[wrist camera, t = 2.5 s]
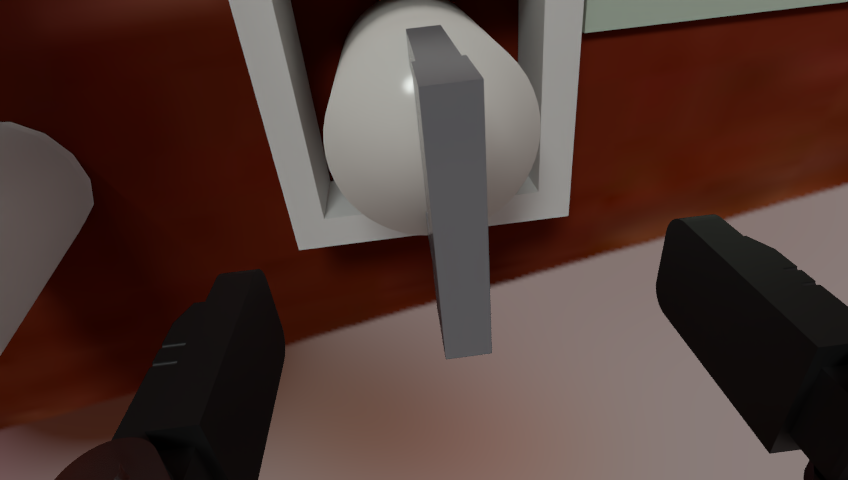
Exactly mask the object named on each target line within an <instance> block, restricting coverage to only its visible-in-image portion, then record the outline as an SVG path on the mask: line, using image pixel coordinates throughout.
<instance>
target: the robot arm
mask: <svg viewBox="0 0 848 480" xmlns="http://www.w3.org/2000/svg"><path fill="white" fill-rule="evenodd" d="M656 294H657V298H658V302H659V305H660V307H661V309H662V312H663V313H664V314H665V316H666V317H667V318H668V320H669V321H670V322H671V324H672V325H673V326H674V328H675V329H676V330H677V332H678V333H679V334H680V336H681V337H682V338H683V340H684V341H685V342H686V343H687V345H688V346H689V348H690V349H691V350H692V351H693V353H694V354H695V355H696V357H697V358H698V359H699V361H700V362H701V363H702V365H703V366H704V367H705V369H706V370H707V371H708V372H709V374H710V375H711V377H712V378H713V379H714V380H715V382H716V383H717V385H718V386H719V387H720V388H721V390H722V391H723V392H724V394H725V395H726V396H727V398H728V399H729V400H730V402H731V403H732V404H733V406H734V407H735V408H736V410H737V411H738V412H739V413H740V415H741V416H742V417H743V419H744V420H745V421H746V423H747V424H748V426H749V427H750V428H751V429H752V431H753V432H754V433H755V434H756V436H757V437H758V439H759V440H760V441H761V443H762V444H763V445H764V447H765V448H766V449H767V451H768V452H769V453H777V452H785V451H792V450H799V449H801V450H802V451H803V452H804V454H805V455H806V456H807V457H808V458H809V462H808V464H807V466H806V468H805V470H804V480H848V306H846V305H845V304H844V303H842V302H841V301H840V300H839V299H838V298H836V297H835V296H834V295H833V294H831V293H830V292H829V291H827V290H826V289H825V288H824V287H822V286H821V285H816V284H815V280H813V279H812V278H811V277H810V276H808V275H807V274H806V273H805V272H803V271H802V270H797V266H796V265H795V264H793V263H792V262H791V261H789V260H788V259H787V258H786V257H784V256H783V255H782V254H781V253H779V252H778V251H777V250H775V249H774V248H771V247H769V246H767V245H765V244H763V243H760V242H758V241H756V240H754V239H752V238H750V237H747V236H743V235H742V234H740V233H739V232H738V231H737V230H735V229H734V228H733V227H732V226H731V225H729V224H728V223H727V222H726V221H725V220H723V219H722V218H721V217H719V216H717V215H713V214H712V215H704V216H696V217H688V218H679V219H674V220H672V221H671V222H670V224H669V225H668V228H667V231H666V236H665V241H664V246H663V251H662V256H661V262H660V266H659V271H658V277H657V282H656ZM284 357H285V339H284V333H283V328H282V325H281V322H280V319H279V316H278V313H277V310H276V307H275V304H274V301H273V298H272V295H271V292H270V289H269V286H268V283H267V280H266V277H265V275H264V273H263V272H262V271H261V270H260V269H256V270H248V271H239V272H231V273H223V274H220V275H218V276H217V278H216V280H215V282H214V284H213V287H212V289H211V291H210V293H209V295H208V297H207V299H206V301H205V302H199V303H194V304H193V305H192V306H191V307H189V308H188V309H187V310H186V311H185V312H184V313H183V314H182V315H181V316H180V317H179V318H178V319H177V320H176V321H175V322H174V323H173V324H172V326H171V328H170V330H169V332H168V334H167V336H166V338H165V340H164V342H163V343H162V349H159V351H158V353H157V355H156V357H155V359H154V361H153V362H152V364H153V367H151V368H149V370H148V372H147V374H146V376H145V378H144V380H143V381H142V383H141V385H140V387H139V389H138V391H137V393H136V395H135V397H134V399H133V401H132V403H131V404H130V406H129V408H128V410H127V412H126V414H125V416H124V418H123V419H122V421H121V423H120V425H119V427H118V429H117V431H116V433H115V435H114V437H113V438H112V440H111V441H109V442H106V443H103V444H101V445H99V446H97V447H95V448H93V449H91V450H89V451H88V452H86V453H84V454H83V455H81V456H80V457H78V458H77V459H76V460H74V461H73V462H72V463H71V464H69V465H68V466H67V467H66V468H65V469H64V470H63V471H62V472H61V473H60V474H59V475H58V476H57V477H56V479H55V480H258V477H259V473H260V468H261V464H262V459H263V455H264V450H265V445H266V441H267V436H268V432H269V427H270V423H271V418H272V414H273V409H274V404H275V400H276V395H277V390H278V386H279V382H280V377H281V373H282V368H283V363H284Z"/></svg>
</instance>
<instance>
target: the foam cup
mask: <svg viewBox="0 0 848 480" xmlns="http://www.w3.org/2000/svg"><path fill="white" fill-rule="evenodd" d="M93 205H94V201H93V194H92V187H91V180H90V178H89V177H88V175H87V174H86V172H85V171H84V170H83V168H82V167H81V165H80V164H79V162H78V161H77V159H76V158H75V156H74V155H73V154H72V153H71V152H69V151H68V150H67V149H65V148H64V147H63V146H61V145H60V144H58V143H57V142H56V141H54V140H53V139H52V138H50V137H49V136H48V135H46V134H45V133H42V132H39V131H36V130H33V129H30V128H27V127H24V126H21V125H19V124H16V123H13V122H0V355H1V354H2V352H3V351H4V349H5V347H6V346H7V344H8V343H9V341H10V340H11V338H12V336H13V335H14V333H15V332H16V330H17V329H18V327H19V325H20V324H21V322H22V321H23V319H24V318H25V316H26V314H27V313H28V311H29V310H30V308H31V307H32V305H33V304H34V302H35V300H36V299H37V297H38V296H39V294H40V293H41V291H42V289H43V288H44V286H45V285H46V283H47V282H48V280H49V278H50V277H51V275H52V274H53V272H54V271H55V269H56V268H57V266H58V264H59V263H60V261H61V260H62V258H63V257H64V255H65V253H66V252H67V250H68V249H69V247H70V246H71V244H72V242H73V241H74V239H75V238H76V236H77V235H78V233H79V231H80V230H81V228H82V226H83V224H84V223H85V221H86V219H87V217H88V215H89V213H90V211H91V209H92V207H93Z"/></svg>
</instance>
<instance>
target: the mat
mask: <svg viewBox="0 0 848 480" xmlns="http://www.w3.org/2000/svg"><path fill="white" fill-rule="evenodd" d="M841 2H848V0H584V8H583V22H582V32H583V33H590V32H599V31H607V30H615V29H624V28H632V27H641V26H649V25H657V24H666V23H674V22H682V21H691V20H699V19H707V18H716V17H724V16H732V15H741V14H749V13H757V12H766V11H774V10H783V9H791V8H799V7H808V6H816V5H824V4H833V3H841Z"/></svg>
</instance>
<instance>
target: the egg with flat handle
mask: <svg viewBox="0 0 848 480" xmlns="http://www.w3.org/2000/svg"><path fill="white" fill-rule="evenodd" d="M540 132H541V124H540V112H539V106H538V101H537V98H536V95H535V92H534V89H533V87H532V85H531V83H530V81H529V79H528V77H527V75H526V74H525V73H524V71H523V70H522V68H521V67H520V65H519V64H518V63H517V62H516V61H515V60H514V59H513V58H512V56H511V55H510V54H509V53H508V52H506V51H505V50H504V49H503V48H502V47H501V46H500V45H499V44H498V43H497V42H496V41H495V40H494V39H492V38H491V37H490V36H489V35H488V34H487V33H486V32H485V31H484V30H483V29H482V28H481V27H480V26H478V25H477V24H476V23H475V22H474V21H473V20H472V19H471V18H470V17H469V16H468V15H467V14H466V13H464V12H463V11H462V10H461V9H460V8H459V7H457V6H456V5H455V4H453V3H451V2H450V1H448V0H380V1H378V2H376V3H375V4H373V5H372V6H371V7H369V8H368V9H367V10H366V11H365V12H364V13H363V14H361V15H360V17H359V18H358V19H357V20H356V22H355V23H354V24H353V26H352V28H351V29H350V31H349V33H348V35H347V37H346V39H345V42H344V45H343V49H342V52H341V56H340V60H339V64H338V68H337V72H336V75H335V79H334V83H333V87H332V91H331V95H330V98H329V102H328V106H327V110H326V114H325V120H324V128H323V143H324V150H325V157H326V160H327V163H328V167H329V170H330V172H331V174H332V177H333V179H334V181H335V183H336V184H337V186H338V188H339V189H340V191H341V192H342V194H343V195H344V196H345V197H346V199H347V200H348V201H349V202H350V203H351V204H352V205H353V206H354V207H355V208H356V209H357V210H358V211H359V212H361V213H362V214H363V215H365V216H366V217H368V218H369V219H371V220H372V221H374V222H376V223H378V224H380V225H382V226H384V227H387V228H389V229H392V230H395V231H399V232H402V233H408V234H414V235H428V239H429V244H430V250H431V256H432V263H433V272H434V282H435V291H436V300H437V309H438V315H439V321H440V327H441V333H442V339H443V345H444V351H445V357H446V359H452V358H459V357H467V356H474V355H482V354H490V353H492V342H491V311H490V274H489V240H488V218H489V217H490V216H492V215H493V214H495V213H496V212H497V211H499V210H500V209H501V208H502V207H503V206H505V205H506V204H507V203H508V202H509V201H510V200H511V199H512V198H513V196H514V195H515V194H516V193H517V192H518V191H519V189H520V188H521V186H522V185H523V183H524V182H525V180H526V178H527V177H528V175H529V173H530V171H531V169H532V166H533V164H534V161H535V158H536V155H537V151H538V147H539V142H540Z"/></svg>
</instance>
